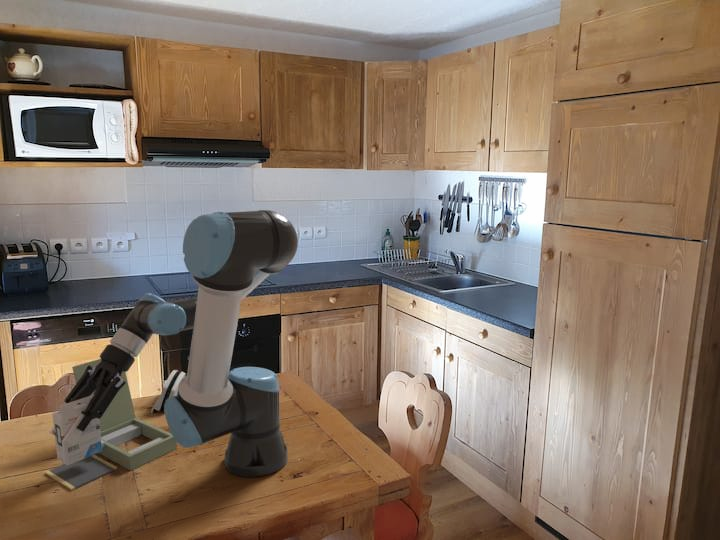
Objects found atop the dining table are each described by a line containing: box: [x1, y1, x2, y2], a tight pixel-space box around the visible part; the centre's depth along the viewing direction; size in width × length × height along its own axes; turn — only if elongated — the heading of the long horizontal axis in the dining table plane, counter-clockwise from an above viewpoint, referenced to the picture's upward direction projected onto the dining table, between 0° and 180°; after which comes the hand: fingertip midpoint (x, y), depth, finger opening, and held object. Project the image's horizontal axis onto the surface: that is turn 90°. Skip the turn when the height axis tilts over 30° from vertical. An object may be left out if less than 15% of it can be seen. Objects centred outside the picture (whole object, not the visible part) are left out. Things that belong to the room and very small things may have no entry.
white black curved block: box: [150, 369, 187, 414], centre depth 169 cm, size 17×5×10 cm, turn 5°
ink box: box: [52, 395, 102, 465], centre depth 129 cm, size 8×5×15 cm, turn 142°
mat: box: [44, 454, 119, 492], centre depth 131 cm, size 12×11×1 cm
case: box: [71, 358, 178, 471], centre depth 141 cm, size 23×14×21 cm, turn 55°
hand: (61, 438), depth 126 cm, fingers closed on ink box, 5 cm apart
